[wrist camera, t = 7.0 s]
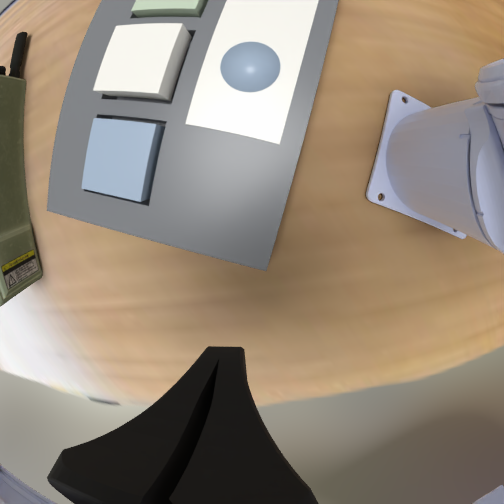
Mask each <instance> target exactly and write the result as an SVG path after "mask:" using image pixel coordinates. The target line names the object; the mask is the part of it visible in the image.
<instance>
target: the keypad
mask: <svg viewBox="0 0 504 504" xmlns="http://www.w3.org/2000/svg"><path fill="white" fill-rule="evenodd" d="M338 1H339V0H208V2H207V5H206V7H205V9H204V12H203V14H202V17H201V18H199V17H145V18H138V17H137V16H136V15H135V14H134V13H133V12H132V11H131V10H132V8H133V6H134V4H135V2H136V0H102V1H101V3H100V5H99V7H98V9H97V11H96V13H95V15H94V17H93V19H92V21H91V24H90V26H89V28H88V30H87V33H86V35H85V37H84V40H83V42H82V45H81V47H80V50H79V53H78V55H77V58H76V61H75V64H74V67H73V70H72V73H71V76H70V79H69V83H68V86H67V90H66V93H65V97H64V101H63V104H62V109H61V113H60V117H59V122H58V126H57V131H56V137H55V142H54V148H53V155H52V162H51V170H50V178H49V189H48V203H47V211H50V212H53V213H57V214H60V215H63V216H67V217H70V218H74V219H77V220H81V221H84V222H87V223H91V224H94V225H98V226H101V227H105V228H108V229H112V230H115V231H119V232H123V233H126V234H130V235H133V236H137V237H140V238H144V239H148V240H151V241H155V242H159V243H162V244H166V245H169V246H173V247H177V248H180V249H184V250H188V251H192V252H195V253H199V254H203V255H206V256H210V257H214V258H218V259H221V260H225V261H229V262H233V263H237V264H240V265H244V266H248V267H252V268H256V269H260V270H264V271H266V270H267V267H268V264H269V260H270V257H271V253H272V250H273V247H274V243H275V240H276V236H277V233H278V229H279V226H280V222H281V219H282V215H283V212H284V208H285V205H286V201H287V198H288V194H289V191H290V187H291V184H292V180H293V176H294V173H295V169H296V165H297V162H298V158H299V155H300V151H301V147H302V143H303V140H304V136H305V132H306V129H307V125H308V121H309V117H310V114H311V110H312V106H313V102H314V98H315V94H316V90H317V87H318V83H319V79H320V75H321V71H322V67H323V63H324V59H325V55H326V51H327V47H328V43H329V39H330V34H331V30H332V26H333V22H334V18H335V13H336V9H337V5H338ZM149 23H183V25H184V26H185V28H186V29H187V31H188V32H189V34H190V35H191V37H192V38H191V41H190V43H189V46H188V49H187V52H186V55H185V57H184V60H183V63H182V66H181V69H180V72H179V75H178V79H177V82H176V85H175V88H174V92H173V95H172V99H171V101H168V100H159V99H148V98H136V97H119V96H108V95H105V94H102V93H99V92H96V91H93V89H94V85H95V82H96V79H97V75H98V72H99V69H100V66H101V63H102V60H103V58H104V55H105V52H106V50H107V47H108V44H109V42H110V39H111V37H112V34H113V32H114V30H115V27H116V26H119V25H131V24H149ZM94 118H102V119H115V120H125V121H135V122H143V123H151V124H157V125H161V126H164V127H165V131H164V135H163V139H162V143H161V147H160V152H159V156H158V161H157V166H156V171H155V176H154V181H153V186H152V192H151V197H150V199H148V200H145V201H142V202H139V201H134V200H130V199H126V198H121V197H117V196H113V195H108V194H104V193H100V192H95V191H91V190H86V189H82V180H83V172H84V166H85V159H86V153H87V148H88V142H89V137H90V132H91V128H92V123H93V119H94Z"/></svg>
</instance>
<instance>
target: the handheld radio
mask: <svg viewBox="0 0 504 504" xmlns="http://www.w3.org/2000/svg"><path fill="white" fill-rule="evenodd" d="M26 38H27V33H26V32H21V33H19V34H17V36H16V40H15V44H14V49H13V54H12V59H11V64H10V68H11V70H10V74H9V76H5V74H6V73H5V71H6V69H5V67H4V66H0V306H2V305H3V304H5V303H6V302H7V301H9V300H10V299H11V298H13V297H14V296H16V295H17V294H18V293H20V292H21V291H23V290H24V289H26V288H27V287H28V286H30V285H31V284H33V283H34V282H36V281H37V280H39V279H40V278H42V270H41V267H40V263H39V259H38V254H37V250H36V246H35V241H34V236H33V231H32V226H31V220H30V214H29V207H28V200H27V191H26V182H25V169H24V149H23V121H24V101H25V90H26V80H25V79H20V78H19V77H20V72H19V70H20V66H21V62H22V57H23V52H24V47H25V43H26Z"/></svg>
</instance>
